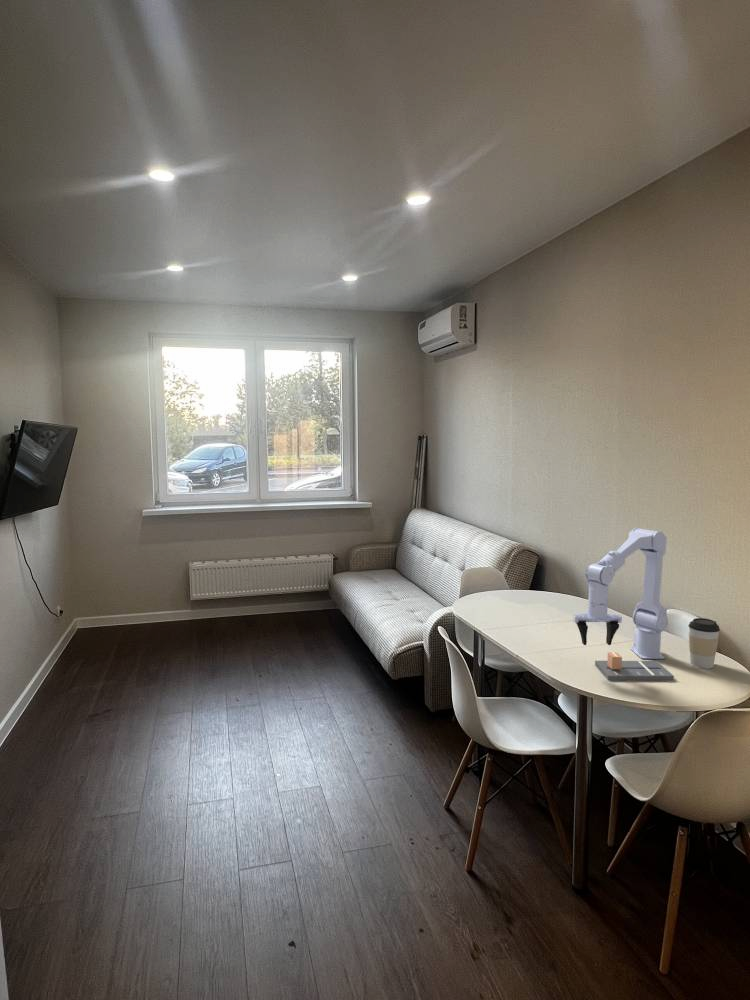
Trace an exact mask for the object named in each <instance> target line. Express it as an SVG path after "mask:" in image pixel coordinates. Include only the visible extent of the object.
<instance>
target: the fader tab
mask: <svg viewBox="0 0 750 1000" xmlns="http://www.w3.org/2000/svg"><path fill="white" fill-rule="evenodd" d="M606 661H607V665H608V666H609V667H610V668H611V669H621V667H622V661H623V656H622V655H621V654H619V652H614V651H610V652H609V651H608V652H607V660H606Z"/></svg>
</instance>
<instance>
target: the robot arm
mask: <svg viewBox="0 0 750 1000" xmlns="http://www.w3.org/2000/svg"><path fill="white" fill-rule="evenodd" d="M637 550H638V551H641V552H642V553H643V554H644V555H645V564H644V577H643V590H642V599H641V600H642V601H640V602H638V603H636V604H635V608H634V611H633V613H632V622H633V624H634V625H635V629H634V632H633V647H630V649H631V651H633V652H634V654H635V655H636V656H638V657H639V658H640V659H641V660H642V659H643V660H649V659H650V660H651V659H652V660H655V659H656V660H658V659H659V660H664V659H666V657H665V656H664V655H663V654H661V645H662V643H661V641H662V632H664V631H665V630H666V629H667V627H668V623H669V622H668V621H669V618H668V615H667V613H668V609H666V607H664V606H663V605H662V604H661V602H660V600H661V599H660V598H661V589H662V588H661V586H662V576H663V564H664V556H665V554H666V550H667V536H666V534H665V533H664V532H663V531H661V530H658V531H656V530H652V529H645V528H640V527H634V528H632V530H631V531H629V533H628V538H627V540H625V541H624V542H623V544H621V546H620V547H619V548H618V549H617V550H609V552H607V554H606V555H605V556H604V557H602V558H601V559H599V561H598V562H596V563H592V564H589V565H588V566H587V568H586V569H585V572H584V577H585V579H586V583H587V584H586V585H587V587H588V602H587V603H588V604H587V605H588V606H587V613H582V614H580V613H579V614H573V616H572V617H573V618H572V621H573V622H574V623H575V624H576V626H577V628H578V630H579V634H580V637H581V643H582V645H584V646H587V642H588V641H587V639H588V638H587V635H588V629H589V626H588V625H587V623H605V625H606V640H605V641H606V643H605V644H607V645H608V646H611V644H612V641H613V639H614V637H615V634H616V633H617V631H618V630H619V629H620V623H621V624H622V621H623V619H622V618H623V616H621V615H620V614H609V613H608V603H609V585H610V584H611V583H612V581H613V579H614V577H615V575H616V573H617V572H618V571H619V570H620V569H621V568H622V567H623V566H624V565H625V563H626V559H627V558H629V556H631V555H633V554H634V553H635V552H637Z"/></svg>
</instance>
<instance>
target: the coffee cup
mask: <svg viewBox="0 0 750 1000" xmlns="http://www.w3.org/2000/svg"><path fill="white" fill-rule="evenodd" d="M720 631H721V629H720V626H719V625H718V624H717V621H715V620H713V619H709V618H704V617H697V618H693V620H692V621H690V622H689V624H688V646H689V647H688V648H689V661H690V663H689V664H690V665H692V666H694V667H696V668H700V669H712V668H714V666H715V659H716V655H717V649H718V644H719V634H720Z"/></svg>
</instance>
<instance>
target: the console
mask: <svg viewBox="0 0 750 1000" xmlns="http://www.w3.org/2000/svg"><path fill="white" fill-rule="evenodd" d="M594 666H595V667H596V668H597V669H598V670H599V671H600V673H601V674H602V676H604V677H605V679H606V680H607V681H635V682H637V681H642V682H643V681H646V682H647V681H649V682H652V681H655V682H657V681H661V682H662V681H665V682H666V681H669V682H670V681H671V682H672V681H673V682H674V680H675V676H674V675H673V674H672V673H671V671H669V670H668V669H667V668H666V667H664V666H663V665H662V664H661V663H660V662H659V661H658V660H622V667H621V669H611V668H610V667H609V666H608V665H607V660H594Z"/></svg>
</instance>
